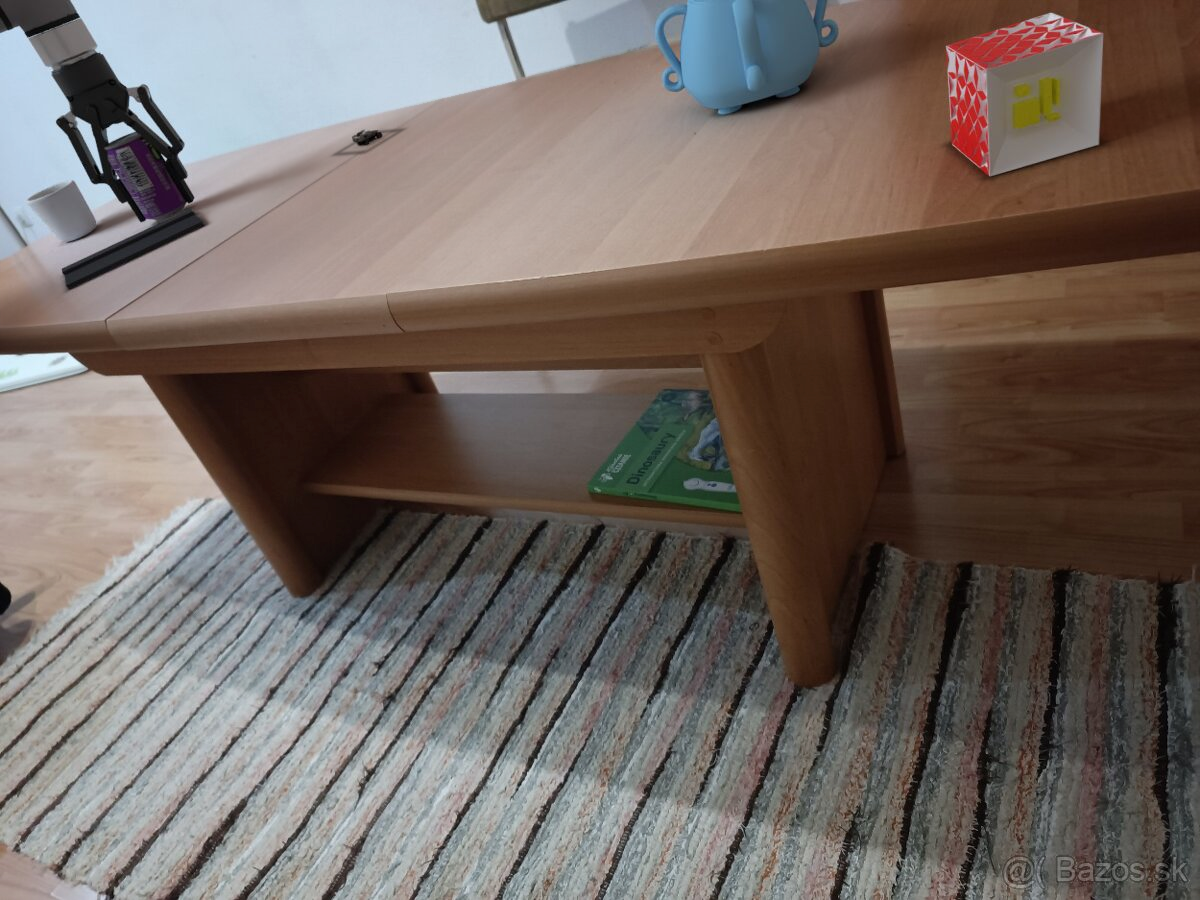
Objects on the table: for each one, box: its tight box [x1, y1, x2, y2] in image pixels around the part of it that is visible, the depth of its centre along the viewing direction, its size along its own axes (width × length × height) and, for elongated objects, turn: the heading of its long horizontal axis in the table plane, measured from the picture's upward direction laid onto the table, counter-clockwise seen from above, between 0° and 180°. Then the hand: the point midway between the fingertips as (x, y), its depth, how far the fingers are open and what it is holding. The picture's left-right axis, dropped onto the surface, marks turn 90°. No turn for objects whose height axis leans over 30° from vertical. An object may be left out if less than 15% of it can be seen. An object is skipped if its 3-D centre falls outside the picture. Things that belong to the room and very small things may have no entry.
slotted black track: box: [61, 208, 205, 291], centre depth 126 cm, size 20×10×1 cm, turn 122°
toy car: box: [351, 128, 383, 147], centre depth 136 cm, size 3×4×2 cm, turn 143°
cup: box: [25, 179, 97, 243], centre depth 145 cm, size 11×8×8 cm
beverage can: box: [104, 131, 188, 221], centre depth 133 cm, size 7×7×12 cm
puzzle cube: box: [945, 12, 1105, 177], centre depth 66 cm, size 8×8×8 cm
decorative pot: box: [654, 0, 839, 115], centre depth 94 cm, size 16×16×14 cm
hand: (167, 209), depth 136 cm, fingers closed on beverage can, 7 cm apart
